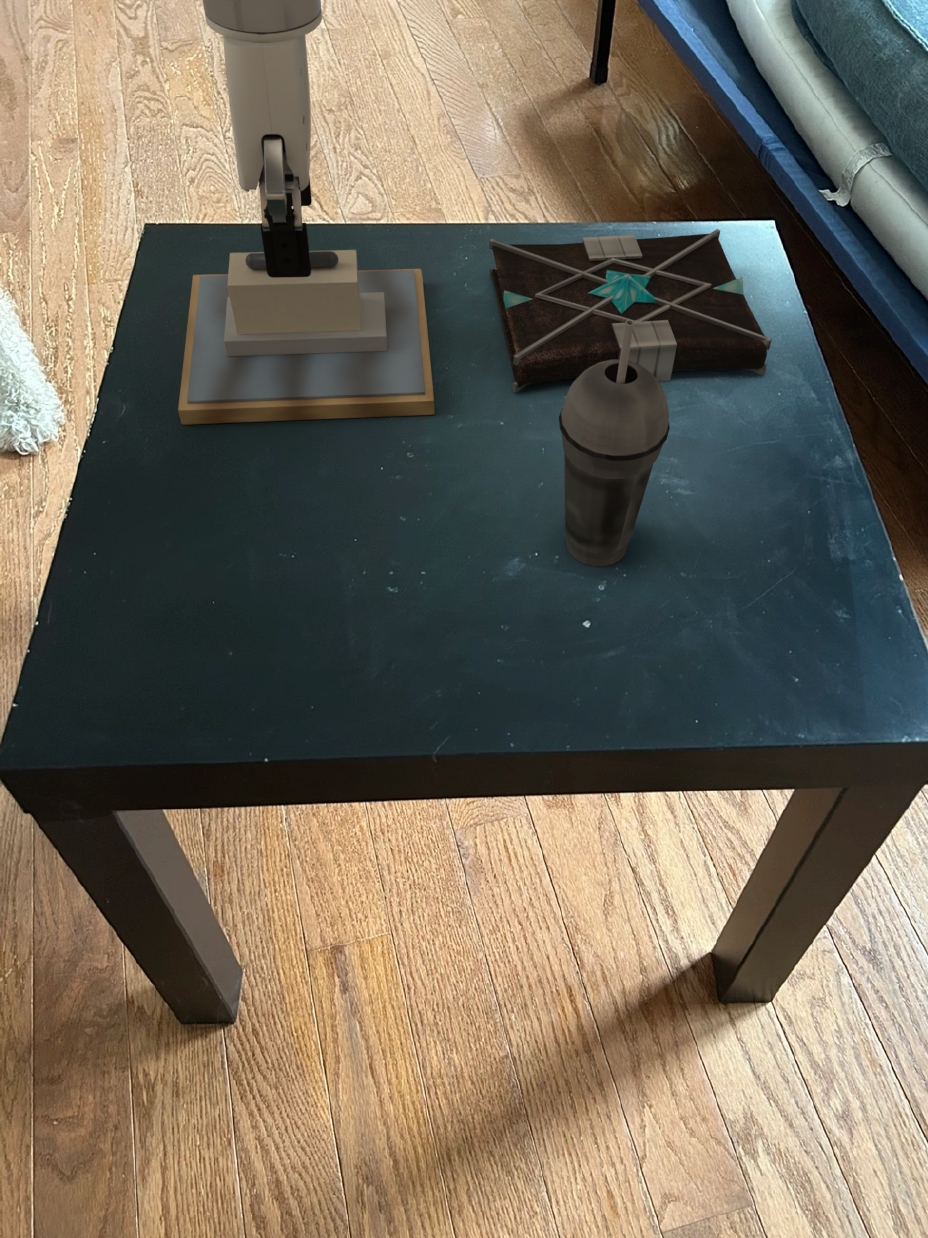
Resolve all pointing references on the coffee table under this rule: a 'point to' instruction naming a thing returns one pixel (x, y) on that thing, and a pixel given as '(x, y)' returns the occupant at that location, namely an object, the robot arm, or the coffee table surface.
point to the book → (624, 307)
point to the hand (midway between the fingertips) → (290, 238)
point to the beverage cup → (609, 453)
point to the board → (308, 364)
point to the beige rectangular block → (302, 308)
